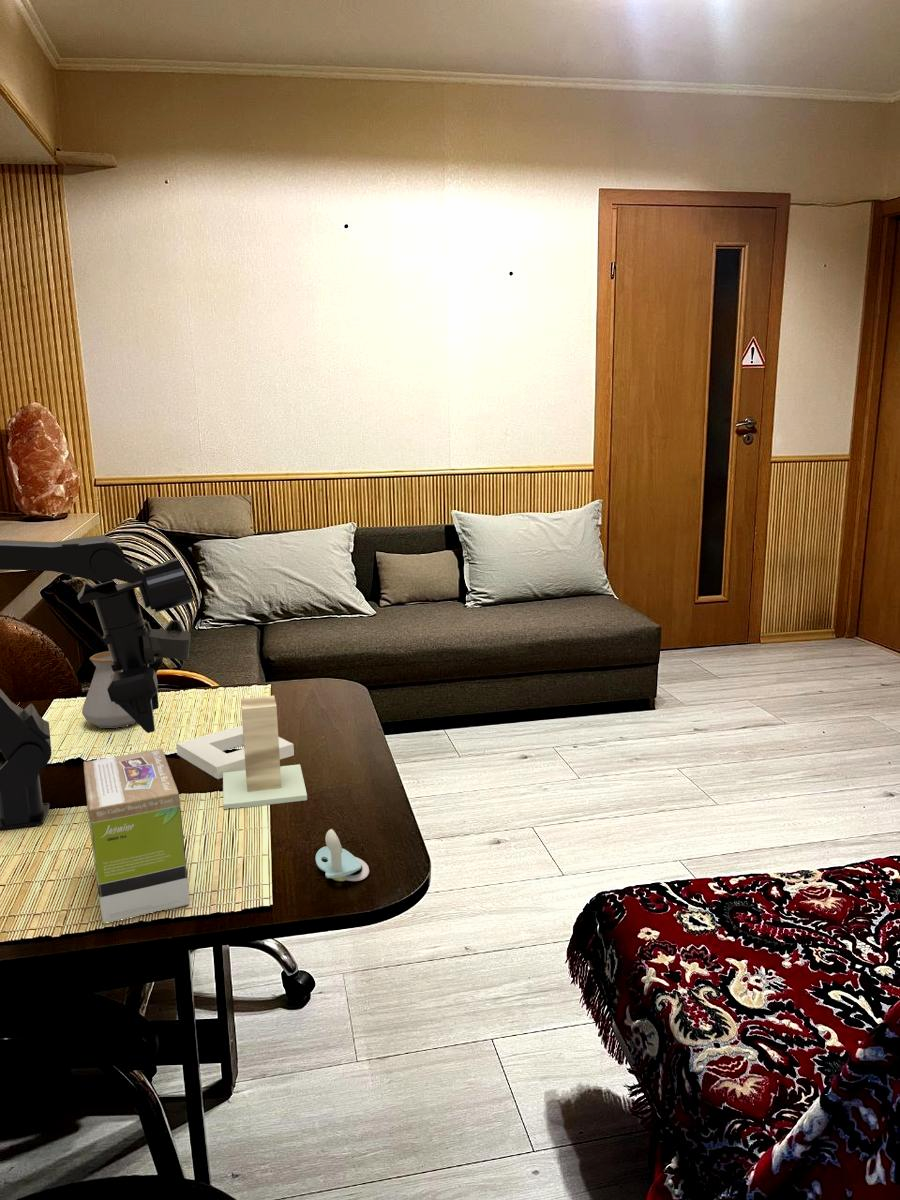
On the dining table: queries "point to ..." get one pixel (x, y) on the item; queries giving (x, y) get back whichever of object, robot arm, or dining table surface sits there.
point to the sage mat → (239, 797)
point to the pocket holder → (210, 751)
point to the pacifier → (339, 861)
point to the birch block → (261, 743)
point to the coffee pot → (103, 697)
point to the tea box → (136, 835)
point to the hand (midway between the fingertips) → (153, 720)
